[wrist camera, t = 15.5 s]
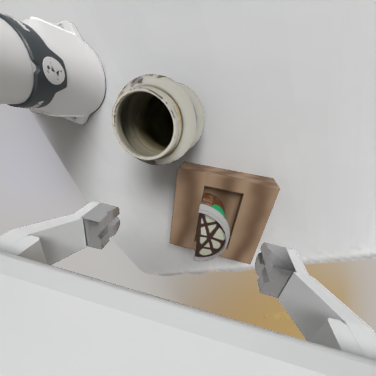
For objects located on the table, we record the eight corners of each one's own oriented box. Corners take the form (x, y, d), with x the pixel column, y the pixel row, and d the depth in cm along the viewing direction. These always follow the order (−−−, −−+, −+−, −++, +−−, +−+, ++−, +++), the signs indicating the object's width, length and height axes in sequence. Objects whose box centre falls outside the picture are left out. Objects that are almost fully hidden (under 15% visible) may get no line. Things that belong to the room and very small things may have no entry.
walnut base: (175, 229, 49) (169, 243, 44) (183, 161, 41) (177, 168, 36) (248, 247, 46) (250, 264, 41) (273, 178, 38) (279, 188, 33)
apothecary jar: (182, 158, 40) (151, 190, 24) (142, 121, 39) (81, 128, 23) (220, 116, 35) (213, 121, 19) (176, 71, 34) (127, 35, 18)
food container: (225, 236, 43) (224, 269, 34) (200, 231, 44) (193, 262, 35) (234, 190, 37) (235, 215, 29) (205, 186, 39) (198, 209, 30)
